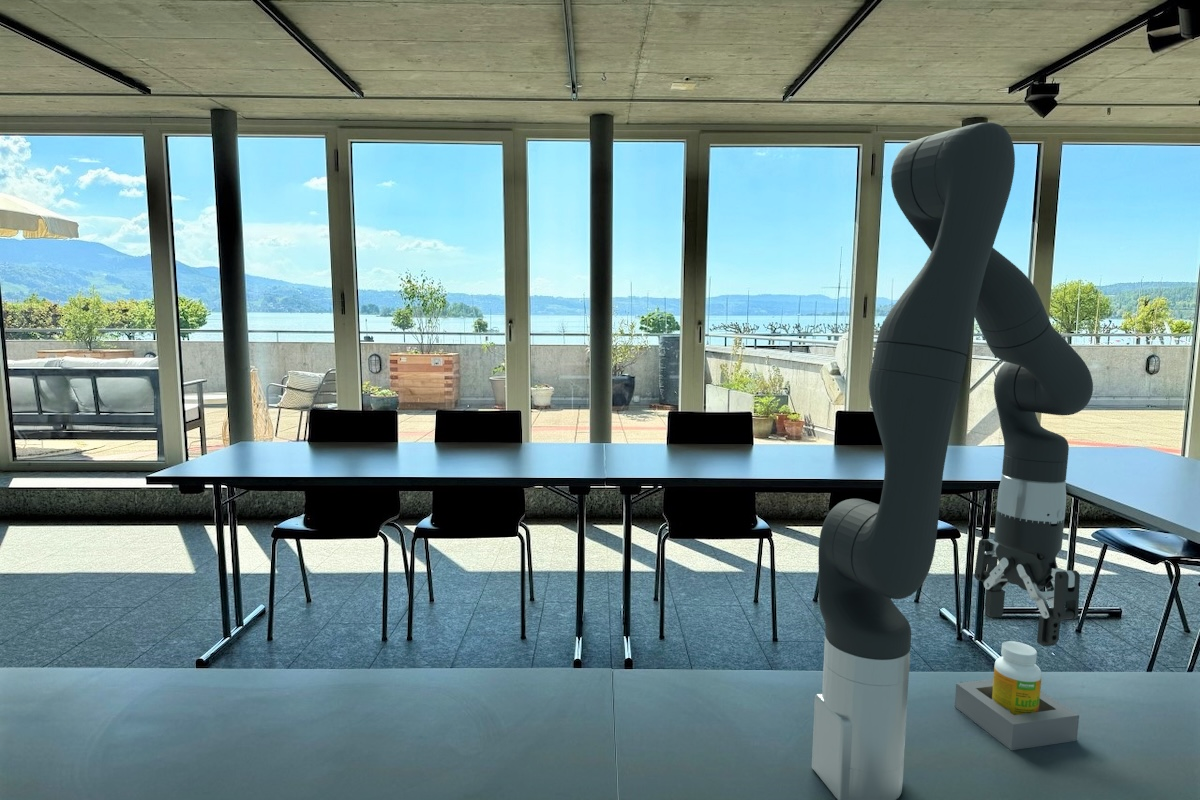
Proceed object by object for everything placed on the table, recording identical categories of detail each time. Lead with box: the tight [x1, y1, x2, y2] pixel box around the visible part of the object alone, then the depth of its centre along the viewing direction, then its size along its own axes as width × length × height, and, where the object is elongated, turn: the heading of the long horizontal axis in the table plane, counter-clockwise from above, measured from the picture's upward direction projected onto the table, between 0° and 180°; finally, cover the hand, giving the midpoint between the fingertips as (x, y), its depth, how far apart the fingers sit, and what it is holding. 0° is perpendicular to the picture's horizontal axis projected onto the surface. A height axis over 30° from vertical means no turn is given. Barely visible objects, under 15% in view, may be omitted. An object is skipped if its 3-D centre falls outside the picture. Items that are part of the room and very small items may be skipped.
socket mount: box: [954, 678, 1080, 751], centre depth 92 cm, size 10×10×4 cm
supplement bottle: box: [992, 640, 1043, 715], centre depth 91 cm, size 5×5×10 cm
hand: (1019, 629), depth 90 cm, fingers open, 8 cm apart
